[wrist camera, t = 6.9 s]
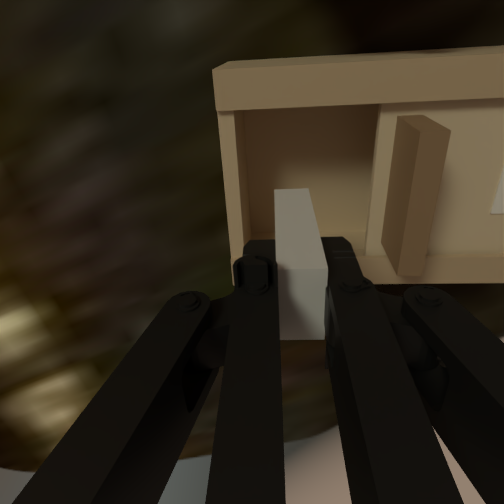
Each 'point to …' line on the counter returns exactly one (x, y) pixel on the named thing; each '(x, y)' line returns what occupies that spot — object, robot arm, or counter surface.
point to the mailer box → (336, 141)
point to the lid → (436, 181)
